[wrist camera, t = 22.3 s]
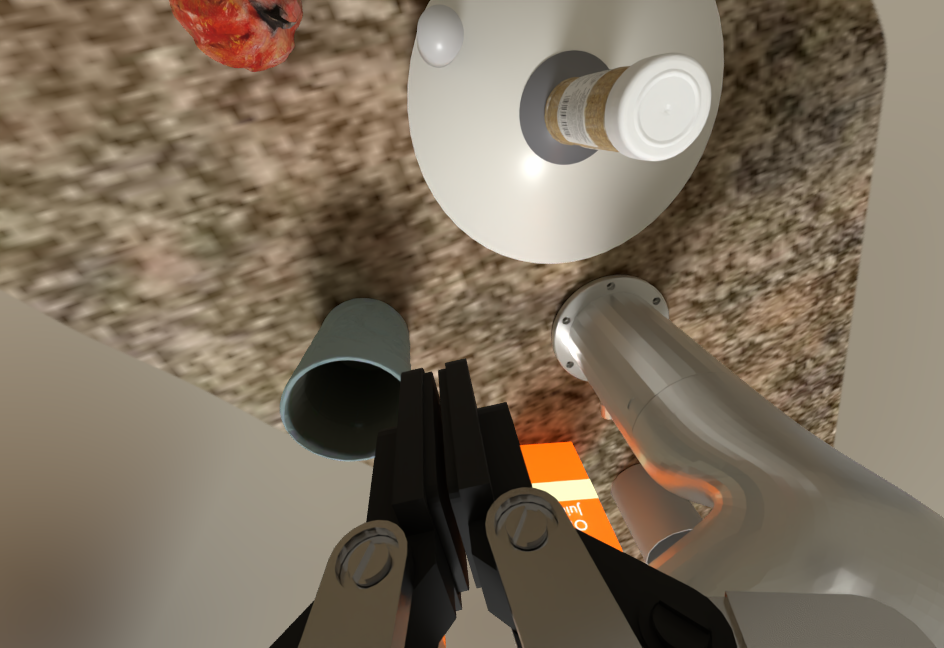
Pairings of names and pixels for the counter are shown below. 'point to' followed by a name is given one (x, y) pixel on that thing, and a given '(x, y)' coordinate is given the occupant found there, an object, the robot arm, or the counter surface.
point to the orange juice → (569, 487)
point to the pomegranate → (241, 29)
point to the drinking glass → (348, 381)
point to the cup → (652, 512)
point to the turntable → (523, 125)
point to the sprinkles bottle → (633, 108)
